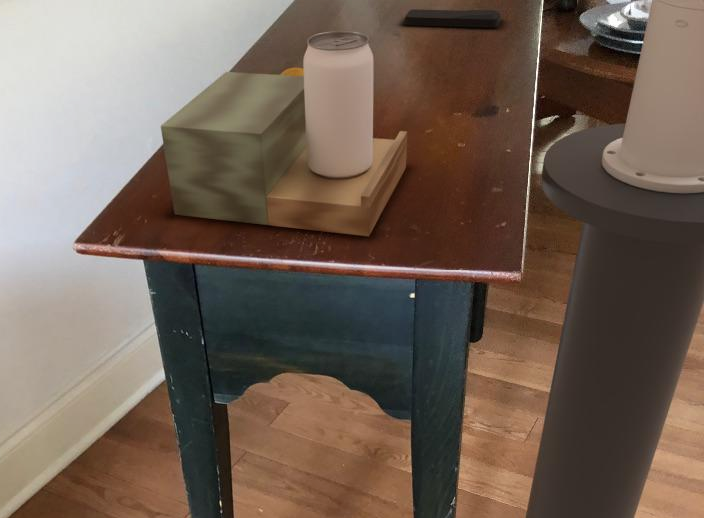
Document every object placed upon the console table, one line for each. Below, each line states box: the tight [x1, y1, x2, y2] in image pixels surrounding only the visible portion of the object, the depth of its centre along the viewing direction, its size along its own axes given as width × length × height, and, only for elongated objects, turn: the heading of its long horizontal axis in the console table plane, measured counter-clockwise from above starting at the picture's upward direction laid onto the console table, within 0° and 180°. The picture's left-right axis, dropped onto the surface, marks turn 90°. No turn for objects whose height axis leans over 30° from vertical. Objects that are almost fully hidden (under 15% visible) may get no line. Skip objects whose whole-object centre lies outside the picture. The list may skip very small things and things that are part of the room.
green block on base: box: [160, 71, 408, 237], centre depth 80 cm, size 20×16×9 cm
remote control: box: [403, 9, 501, 29], centre depth 128 cm, size 5×2×15 cm
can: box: [302, 30, 374, 179], centre depth 76 cm, size 6×6×12 cm
